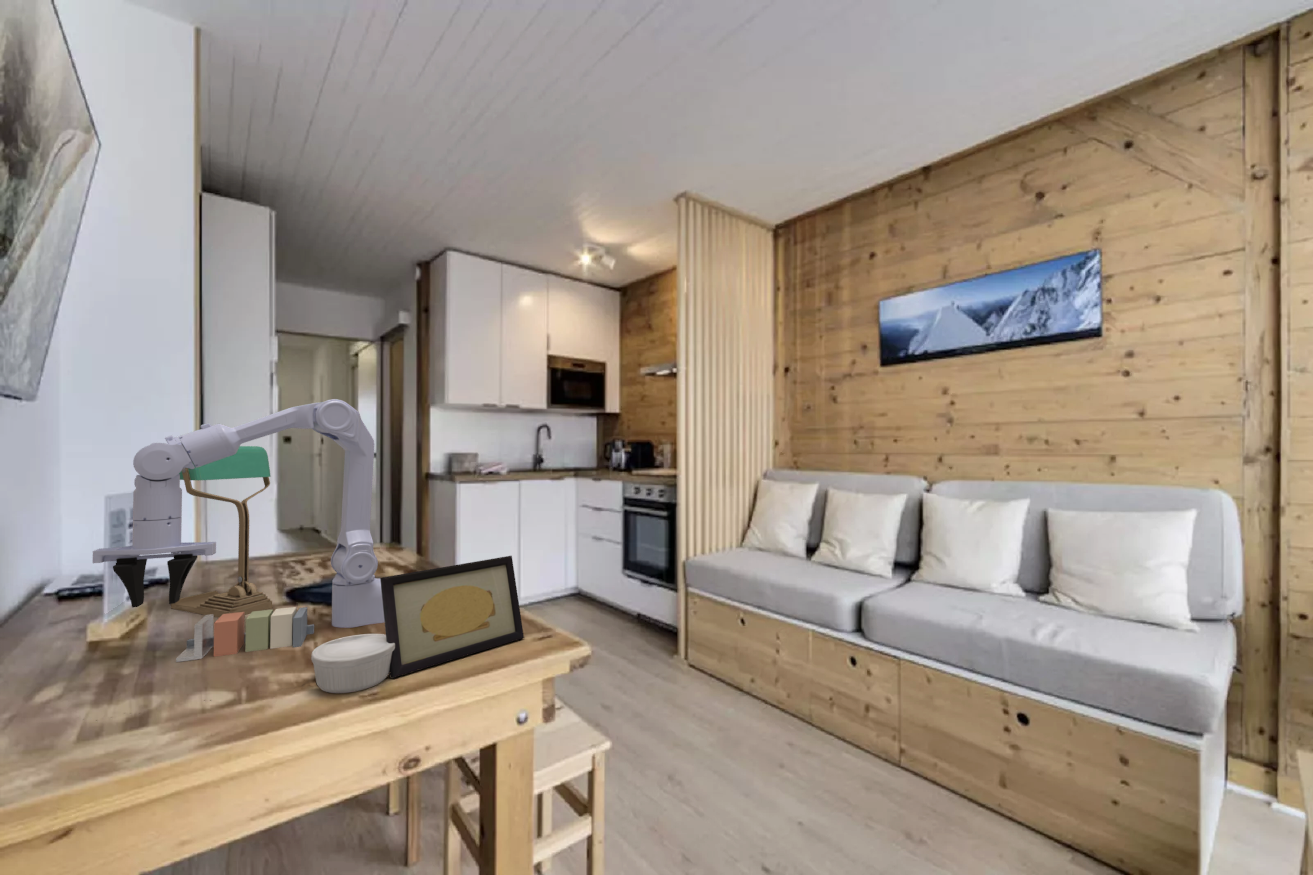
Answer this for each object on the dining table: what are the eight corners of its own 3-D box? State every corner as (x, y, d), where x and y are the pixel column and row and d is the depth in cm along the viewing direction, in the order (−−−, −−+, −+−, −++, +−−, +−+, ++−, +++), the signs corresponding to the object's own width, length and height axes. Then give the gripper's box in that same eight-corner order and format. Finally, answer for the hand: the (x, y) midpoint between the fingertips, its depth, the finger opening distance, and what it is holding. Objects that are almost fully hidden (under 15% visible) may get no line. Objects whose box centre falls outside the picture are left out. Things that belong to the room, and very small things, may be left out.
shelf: (314, 638, 98) (314, 605, 98) (307, 653, 91) (307, 617, 91) (188, 654, 90) (188, 618, 90) (169, 672, 83) (170, 633, 83)
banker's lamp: (208, 625, 105) (211, 446, 105) (145, 612, 112) (148, 446, 113) (288, 603, 119) (291, 446, 120) (228, 593, 127) (230, 446, 127)
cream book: (296, 637, 95) (296, 606, 95) (291, 646, 91) (292, 613, 91) (275, 640, 94) (276, 609, 94) (270, 649, 90) (270, 616, 90)
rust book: (244, 643, 92) (244, 611, 92) (236, 653, 88) (237, 620, 88) (222, 646, 91) (222, 614, 91) (213, 657, 86) (214, 622, 87)
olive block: (272, 640, 94) (273, 609, 94) (267, 649, 90) (267, 616, 90) (251, 643, 92) (252, 611, 93) (245, 652, 88) (245, 619, 89)
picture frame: (393, 679, 81) (390, 578, 82) (371, 669, 87) (368, 575, 88) (524, 639, 98) (520, 555, 99) (498, 633, 104) (494, 554, 105)
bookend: (212, 646, 91) (213, 614, 91) (201, 658, 86) (202, 624, 86) (188, 649, 89) (189, 616, 89) (176, 662, 84) (176, 627, 84)
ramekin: (377, 659, 89) (377, 627, 89) (409, 678, 81) (409, 643, 82) (299, 682, 80) (299, 647, 80) (327, 706, 73) (328, 667, 73)
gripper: (222, 513, 92) (220, 592, 92) (109, 517, 86) (107, 602, 86) (209, 518, 86) (207, 603, 86) (85, 523, 80) (84, 615, 79)
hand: (156, 603), depth 85 cm, fingers open, 4 cm apart
